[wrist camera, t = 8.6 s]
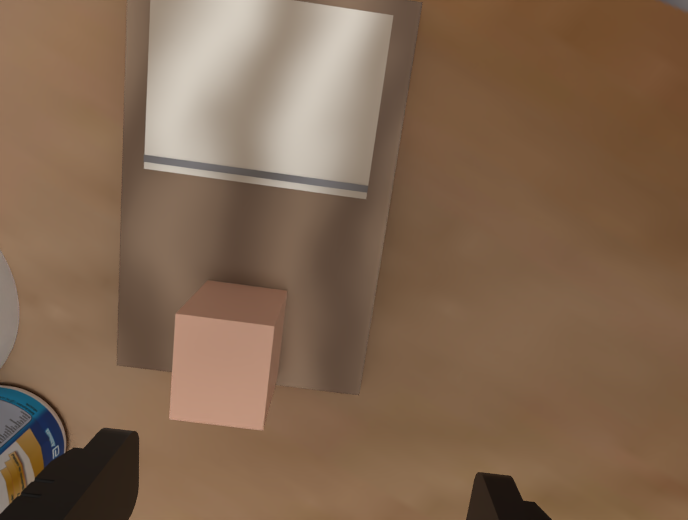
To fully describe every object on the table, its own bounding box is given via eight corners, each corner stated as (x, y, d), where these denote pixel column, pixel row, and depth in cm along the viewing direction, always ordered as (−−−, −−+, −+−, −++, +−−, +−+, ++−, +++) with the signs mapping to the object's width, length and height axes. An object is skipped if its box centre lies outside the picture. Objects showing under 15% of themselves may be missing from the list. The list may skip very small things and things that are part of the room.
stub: (287, 290, 30) (274, 326, 25) (277, 377, 32) (262, 430, 26) (207, 280, 30) (175, 313, 24) (201, 367, 32) (169, 419, 26)
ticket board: (418, 9, 28) (424, -1, 26) (358, 384, 34) (359, 400, 32) (139, -33, 27) (122, -48, 25) (126, 355, 33) (111, 370, 31)
